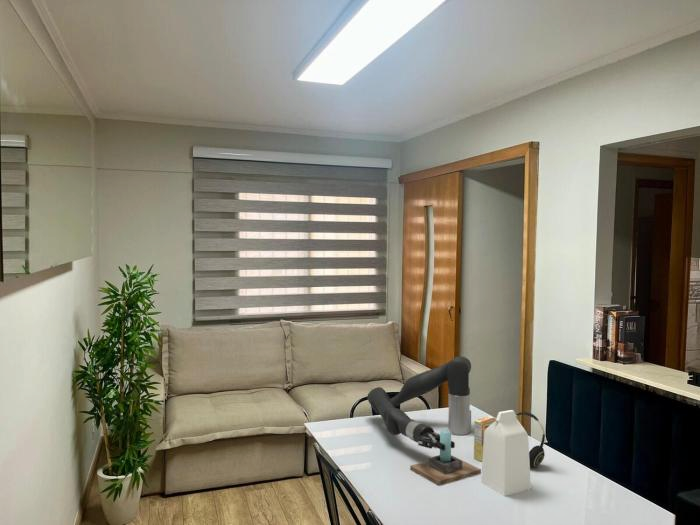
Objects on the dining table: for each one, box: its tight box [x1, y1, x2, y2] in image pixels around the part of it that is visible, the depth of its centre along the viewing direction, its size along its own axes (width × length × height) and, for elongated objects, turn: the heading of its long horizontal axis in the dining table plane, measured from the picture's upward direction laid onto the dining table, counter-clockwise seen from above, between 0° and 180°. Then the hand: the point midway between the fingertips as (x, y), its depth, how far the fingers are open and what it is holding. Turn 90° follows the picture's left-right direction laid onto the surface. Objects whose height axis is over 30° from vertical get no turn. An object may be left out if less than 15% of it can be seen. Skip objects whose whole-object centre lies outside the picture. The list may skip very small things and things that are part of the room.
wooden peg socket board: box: [409, 454, 482, 486], centre depth 205 cm, size 20×16×4 cm
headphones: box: [515, 411, 546, 468], centre depth 212 cm, size 9×15×20 cm, turn 39°
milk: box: [480, 409, 532, 497], centre depth 193 cm, size 12×12×26 cm
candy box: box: [473, 416, 496, 463], centre depth 218 cm, size 9×4×15 cm, turn 129°
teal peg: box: [439, 429, 452, 463], centre depth 205 cm, size 4×4×12 cm
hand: (449, 446), depth 203 cm, fingers closed on teal peg, 4 cm apart
